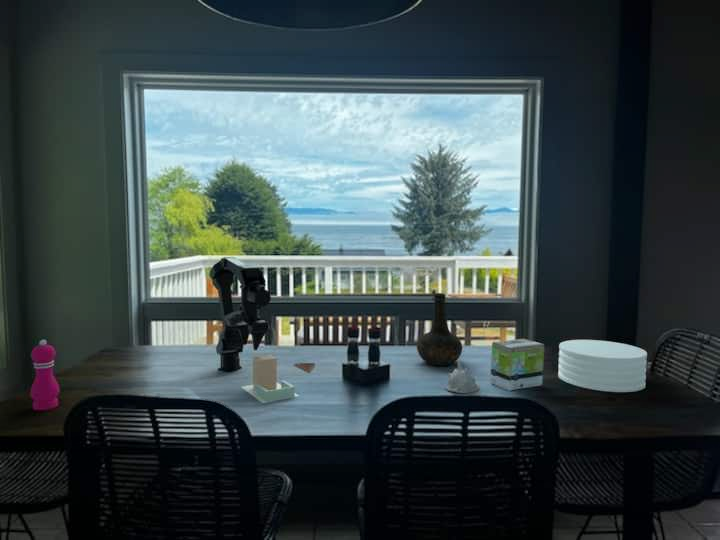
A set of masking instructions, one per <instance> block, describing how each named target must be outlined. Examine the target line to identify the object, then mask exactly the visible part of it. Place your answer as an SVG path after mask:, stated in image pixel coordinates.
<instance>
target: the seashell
mask: <svg viewBox="0 0 720 540" xmlns="http://www.w3.org/2000/svg"><path fill="white" fill-rule="evenodd" d="M447 375H448V377H449V379H448V384H449V385H448V384H445V386H444V388H445V390H447V391H450V392H453V393H458V394H471V393H474V392H477V391H479V390H480V389H481V387H479V386H478V385H477V384H476V383H477V382H476V379H475V377H474V376H473V375H471V374H470V373H469V370H468V368H467V367H466V368H463V366H462V363H461V360H457V368H454V369H453V371H452V373H451V372H450V373H448V374H447Z"/></svg>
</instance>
